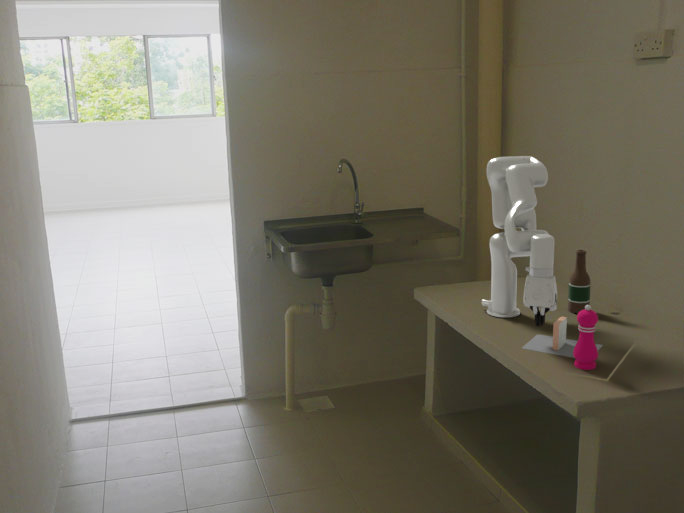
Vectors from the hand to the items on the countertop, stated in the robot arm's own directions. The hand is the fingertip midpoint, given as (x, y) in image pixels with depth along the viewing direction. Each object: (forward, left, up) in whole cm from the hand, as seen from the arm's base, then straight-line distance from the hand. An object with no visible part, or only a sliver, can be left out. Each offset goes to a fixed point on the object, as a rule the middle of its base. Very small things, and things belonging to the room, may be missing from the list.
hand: (539, 325), depth 231 cm
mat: (+8, 0, -7) cm, 10 cm away
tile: (+7, 0, -6) cm, 9 cm away
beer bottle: (+1, +43, -7) cm, 44 cm away
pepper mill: (+19, -13, -7) cm, 24 cm away
